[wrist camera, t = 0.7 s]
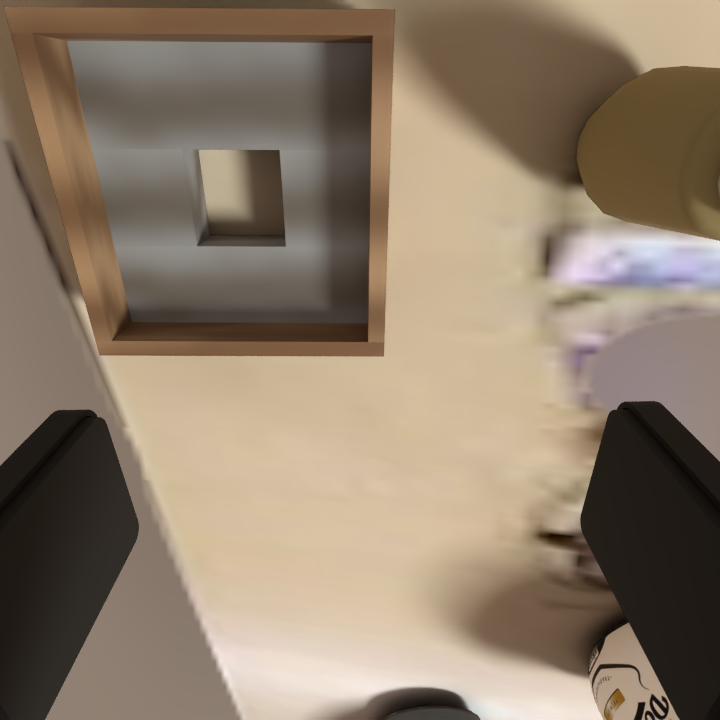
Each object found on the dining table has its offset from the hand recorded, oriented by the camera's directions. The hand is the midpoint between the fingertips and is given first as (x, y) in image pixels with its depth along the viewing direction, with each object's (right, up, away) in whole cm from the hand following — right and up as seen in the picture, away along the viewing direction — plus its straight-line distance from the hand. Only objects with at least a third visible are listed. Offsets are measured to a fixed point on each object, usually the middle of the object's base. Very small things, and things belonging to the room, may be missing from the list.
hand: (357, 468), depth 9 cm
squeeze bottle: (+17, +16, +21) cm, 31 cm away
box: (-7, +13, +23) cm, 27 cm away
